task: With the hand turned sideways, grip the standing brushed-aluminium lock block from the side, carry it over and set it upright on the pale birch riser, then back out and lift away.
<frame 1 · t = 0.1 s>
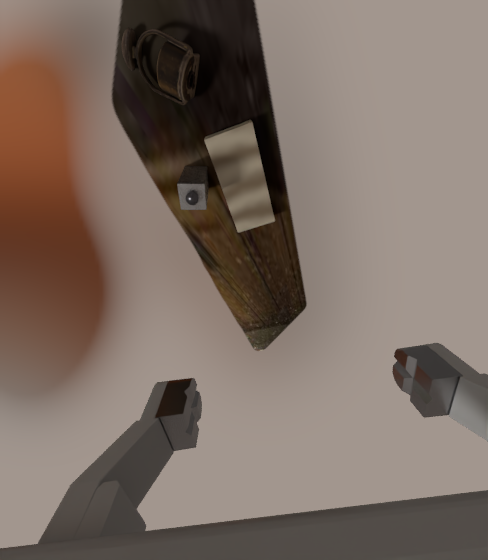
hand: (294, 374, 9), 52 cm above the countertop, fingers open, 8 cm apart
aluminium lock block: (197, 177, 53), on the countertop
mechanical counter: (165, 62, 40), on the countertop
birch riser: (242, 180, 54), on the countertop
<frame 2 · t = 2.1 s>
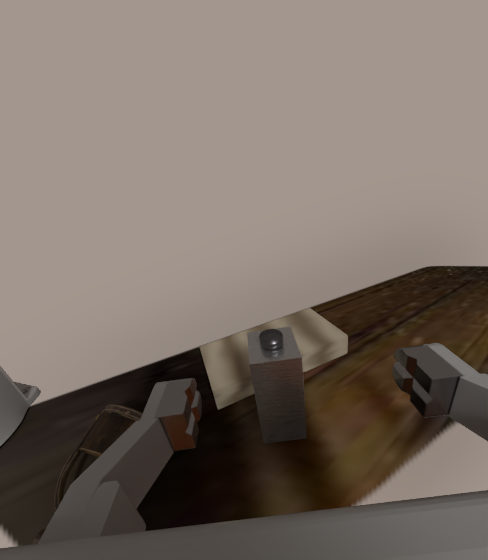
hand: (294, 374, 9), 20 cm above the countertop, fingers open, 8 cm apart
aluminium lock block: (281, 419, 28), on the countertop
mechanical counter: (110, 482, 25), on the countertop
birch riser: (272, 357, 38), on the countertop
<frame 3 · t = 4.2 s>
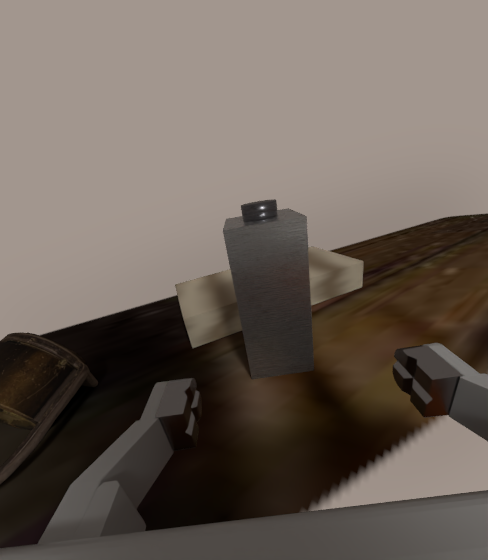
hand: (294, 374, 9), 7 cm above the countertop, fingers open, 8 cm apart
aluminium lock block: (277, 353, 20), on the countertop
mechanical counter: (6, 450, 16), on the countertop
birch riser: (267, 297, 30), on the countertop
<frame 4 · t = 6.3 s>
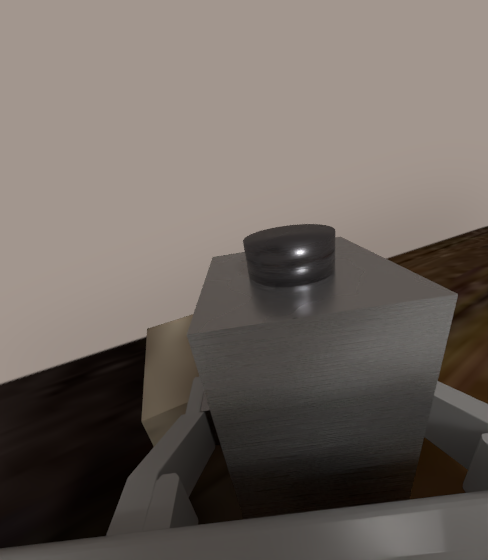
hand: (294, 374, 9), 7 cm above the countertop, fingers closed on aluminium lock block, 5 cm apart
aluminium lock block: (308, 495, 11), on the countertop, touching gripper
birch riser: (280, 348, 21), on the countertop
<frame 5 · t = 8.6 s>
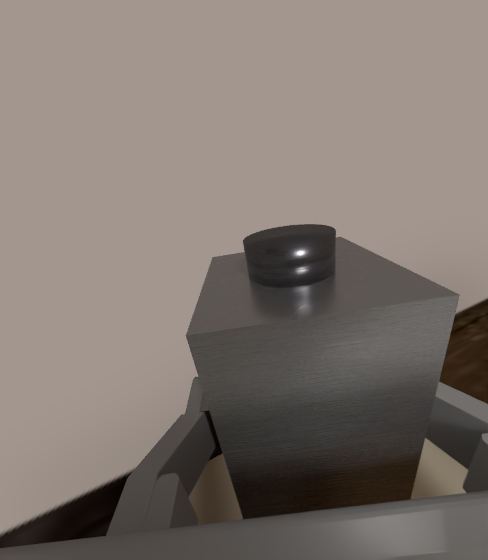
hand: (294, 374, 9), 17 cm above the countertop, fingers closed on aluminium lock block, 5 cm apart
aluminium lock block: (308, 496, 11), point 10 cm above the countertop, touching gripper
birch riser: (306, 515, 17), on the countertop
when the fingers open (11 cm above the countertop, at t = 10.6 s): aluminium lock block stays where it is, resting on birch riser.
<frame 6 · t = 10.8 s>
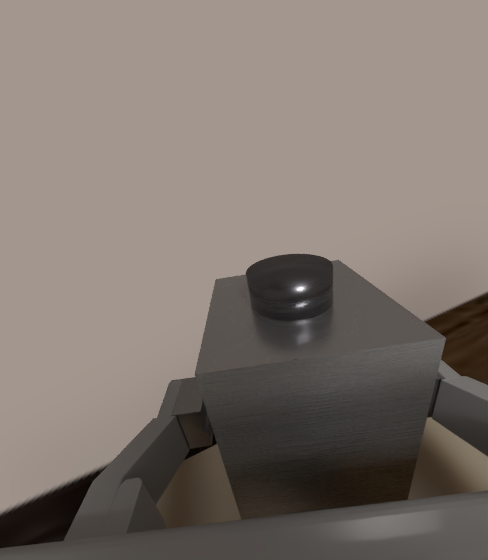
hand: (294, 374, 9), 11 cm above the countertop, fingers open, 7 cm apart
aluminium lock block: (308, 506, 11), point 3 cm above the countertop, touching birch riser
birch riser: (311, 537, 13), on the countertop
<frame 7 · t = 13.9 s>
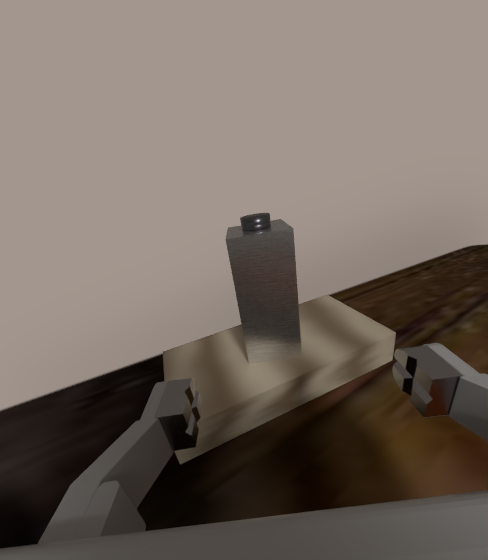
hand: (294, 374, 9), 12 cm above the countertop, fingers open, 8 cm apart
aluminium lock block: (271, 343, 23), point 3 cm above the countertop, touching birch riser
birch riser: (275, 368, 25), on the countertop
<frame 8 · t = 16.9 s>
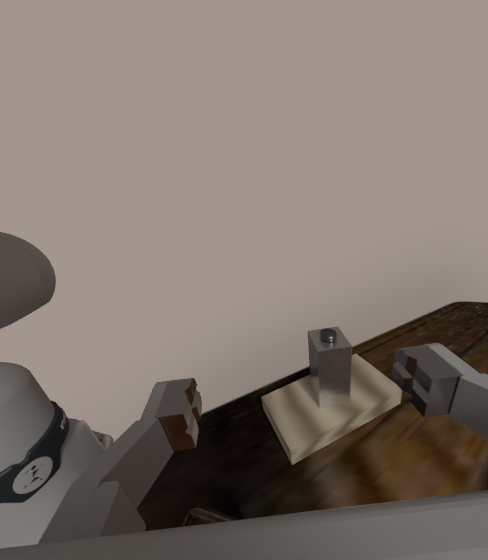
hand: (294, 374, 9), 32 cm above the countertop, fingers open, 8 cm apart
aluminium lock block: (329, 393, 40), point 3 cm above the countertop, touching birch riser
birch riser: (329, 406, 41), on the countertop
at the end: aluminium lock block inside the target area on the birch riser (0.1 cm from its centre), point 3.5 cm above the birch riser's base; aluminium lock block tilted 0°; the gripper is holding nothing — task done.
